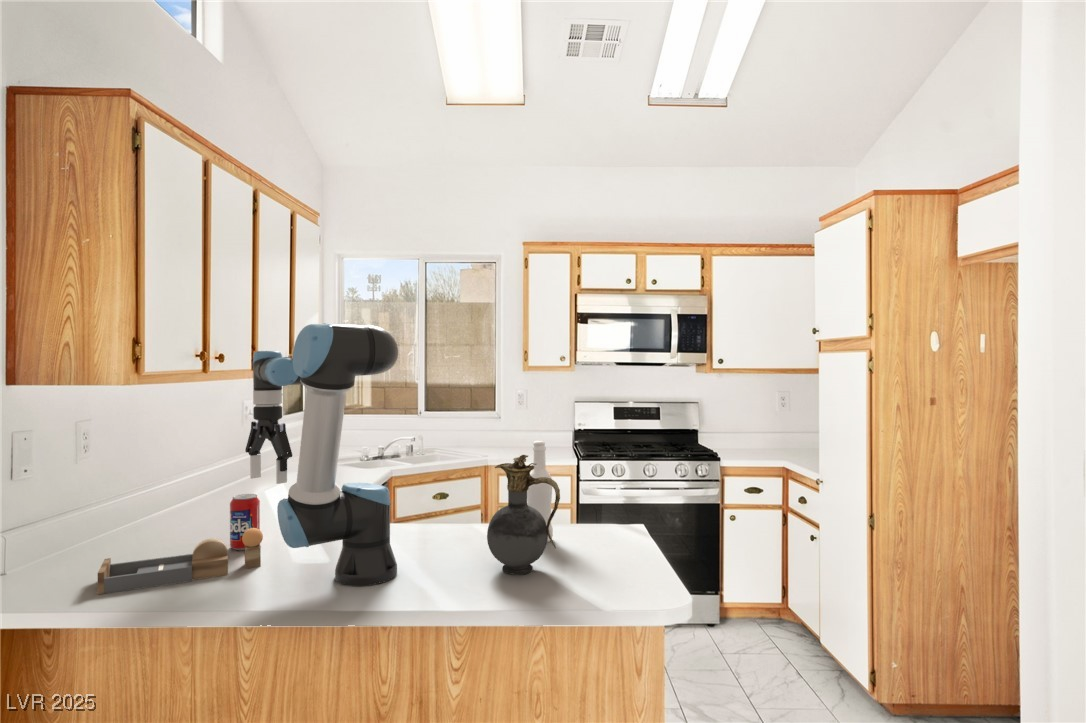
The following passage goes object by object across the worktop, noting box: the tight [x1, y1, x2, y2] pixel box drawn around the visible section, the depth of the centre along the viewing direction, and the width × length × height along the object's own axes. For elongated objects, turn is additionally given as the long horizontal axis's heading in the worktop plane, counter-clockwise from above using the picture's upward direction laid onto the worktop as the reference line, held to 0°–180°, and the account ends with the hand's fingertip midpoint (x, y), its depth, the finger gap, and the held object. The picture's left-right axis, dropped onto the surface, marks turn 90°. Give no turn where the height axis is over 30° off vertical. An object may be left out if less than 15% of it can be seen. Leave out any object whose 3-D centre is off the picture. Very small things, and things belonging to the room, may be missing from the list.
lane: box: [103, 553, 193, 595], centre depth 157 cm, size 12×18×4 cm, turn 118°
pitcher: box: [486, 454, 561, 575], centre depth 164 cm, size 11×19×30 cm, turn 76°
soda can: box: [229, 493, 261, 551], centre depth 184 cm, size 8×8×15 cm
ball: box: [242, 528, 264, 547], centre depth 168 cm, size 5×5×5 cm
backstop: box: [97, 557, 112, 595], centre depth 153 cm, size 12×1×5 cm, turn 28°
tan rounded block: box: [192, 537, 229, 581], centre depth 163 cm, size 10×8×8 cm
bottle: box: [527, 440, 554, 544], centre depth 191 cm, size 8×8×30 cm
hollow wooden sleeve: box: [244, 543, 262, 569], centre depth 168 cm, size 4×4×5 cm
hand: (268, 480), depth 179 cm, fingers open, 13 cm apart
